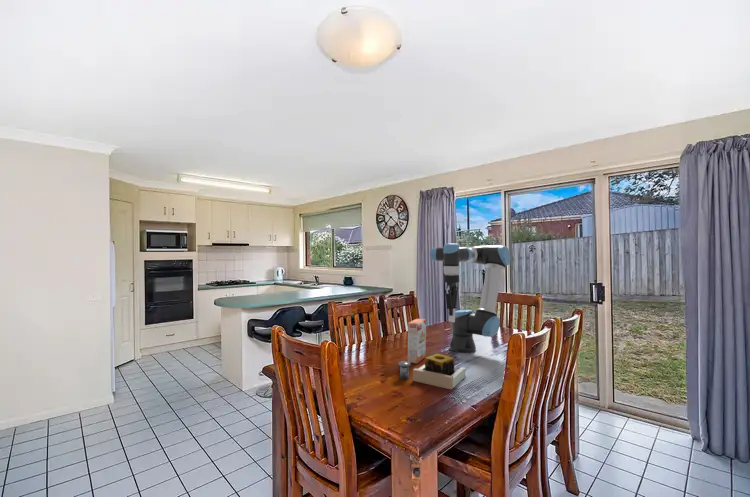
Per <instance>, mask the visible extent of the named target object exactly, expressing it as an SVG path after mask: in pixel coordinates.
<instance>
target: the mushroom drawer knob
mask: <svg viewBox="0 0 750 497" xmlns="http://www.w3.org/2000/svg"><path fill="white" fill-rule="evenodd" d="M411 364H412V363H410V362H408V360H407V361H406V360H401V361H398V366H399V371H400V372H399V377H400V379H401V380H408V379H409V378H410V367H411Z"/></svg>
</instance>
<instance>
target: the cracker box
mask: <svg viewBox="0 0 750 497" xmlns="http://www.w3.org/2000/svg"><path fill="white" fill-rule="evenodd" d="M426 337H427V319H425V318H415V319H413V320H411V321H409V322H408V323H407V361H408V362H410V363H411V364H418V363H420V362H421V361H423V359H425V357H426V352H427V350H426V348H427V346H426V343H427V342H426V341H427V340H426V339H427V338H426Z"/></svg>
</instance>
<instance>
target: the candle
mask: <svg viewBox="0 0 750 497" xmlns="http://www.w3.org/2000/svg"><path fill="white" fill-rule="evenodd" d="M424 365H425V370H426V371H430V372H435V373H440V374H445V375H449V376H451V375H452V374H454V373H455V372H456V371H455V358H454V357H452V356H449V355H445V354H441V353H435V354H432V355H429V356H425V357H424Z"/></svg>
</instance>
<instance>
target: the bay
mask: <svg viewBox="0 0 750 497" xmlns="http://www.w3.org/2000/svg"><path fill="white" fill-rule="evenodd" d="M412 378H413V379H412V381H413V382H417V383H422V384H427V385H430V386H433V387H438V388H442V389H448V390H452V389H454V388H456V386H457V385H458V384H459V383H460V382H462V381H463V380H464V379H465V378H466V367H462V366H461V367H460V368H458V369H457V370H456V371H455V373H454V374H452V375H451V376H449V375H445V374H440V373H435V372H430V371H426V370H425V364H423V365H421V366H420V367H418V368H413V370H412Z"/></svg>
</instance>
